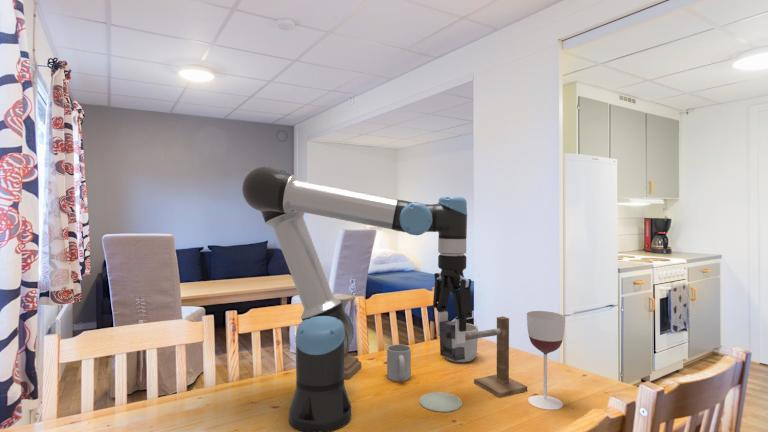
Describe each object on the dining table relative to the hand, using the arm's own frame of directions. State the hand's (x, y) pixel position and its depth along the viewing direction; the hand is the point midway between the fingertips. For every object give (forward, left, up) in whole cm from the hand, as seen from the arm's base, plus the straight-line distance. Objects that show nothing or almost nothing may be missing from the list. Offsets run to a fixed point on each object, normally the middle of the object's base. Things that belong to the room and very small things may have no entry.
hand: (451, 338), depth 118 cm
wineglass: (+21, -13, -16) cm, 29 cm away
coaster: (-4, -1, -16) cm, 17 cm away
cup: (-6, +18, -16) cm, 25 cm away
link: (0, -1, -5) cm, 5 cm away
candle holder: (-20, +32, -16) cm, 41 cm away
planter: (+21, +25, -16) cm, 36 cm away
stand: (+12, 0, -16) cm, 20 cm away
